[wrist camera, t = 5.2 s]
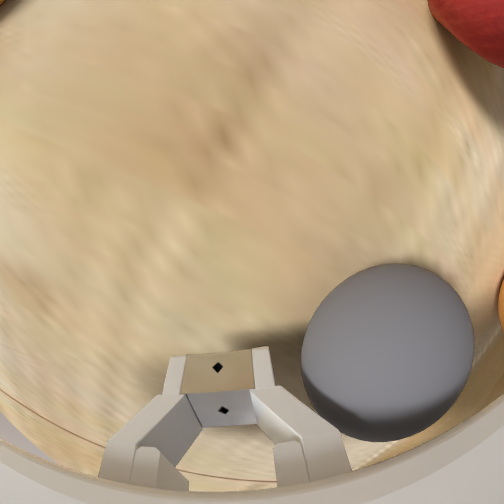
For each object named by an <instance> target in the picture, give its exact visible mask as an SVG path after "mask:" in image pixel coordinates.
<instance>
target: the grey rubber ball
mask: <svg viewBox="0 0 504 504" xmlns="http://www.w3.org/2000/svg"><path fill="white" fill-rule="evenodd" d="M473 356H474V333H473V327H472V323H471V319H470V316H469V313H468V311H467V308H466V306H465V305H464V303H463V301H462V299H461V298H460V296H459V295H458V294H457V292H456V291H455V290H454V289H453V288H452V287H451V286H450V285H449V284H448V283H447V282H446V281H444V280H443V279H442V278H441V277H439V276H438V275H436V274H434V273H432V272H430V271H428V270H426V269H423V268H420V267H417V266H413V265H407V264H385V265H379V266H375V267H371V268H368V269H366V270H363V271H361V272H358V273H356V274H355V275H353V276H351V277H349V278H347V279H346V280H345V281H343V282H342V283H340V284H339V285H338V286H337V287H336V288H335V289H333V290H332V291H331V292H330V293H329V294H328V295H327V297H326V298H325V299H324V300H323V301H322V302H321V304H320V305H319V307H318V308H317V310H316V311H315V313H314V315H313V317H312V319H311V321H310V322H309V325H308V328H307V330H306V333H305V336H304V341H303V345H302V351H301V372H302V378H303V383H304V387H305V389H306V392H307V395H308V397H309V399H310V401H311V403H312V405H313V406H314V408H315V409H316V411H317V412H318V413H319V415H320V416H321V417H322V418H323V419H325V420H326V421H327V422H329V423H330V424H331V425H333V426H334V427H335V428H337V429H338V430H339V432H341V433H343V434H345V435H347V436H350V437H353V438H356V439H359V440H363V441H370V442H389V441H395V440H400V439H403V438H406V437H410V436H412V435H415V434H417V433H419V432H421V431H423V430H425V429H426V428H428V427H429V426H431V425H432V424H434V423H435V422H436V421H437V420H439V419H440V418H441V417H442V416H443V415H444V414H445V413H446V412H447V411H448V410H449V409H450V408H451V406H452V405H453V404H454V403H455V401H456V400H457V398H458V397H459V395H460V393H461V392H462V390H463V388H464V386H465V384H466V382H467V379H468V376H469V373H470V370H471V367H472V362H473Z"/></svg>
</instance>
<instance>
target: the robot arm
mask: <svg viewBox="0 0 504 504" xmlns="http://www.w3.org/2000/svg"><path fill="white" fill-rule="evenodd" d="M248 424H257V425H258V426H259V427H260V428H261V430H262V431H263V432H264V433H265V434H266V435H267V436H268V437H269V438H270V440H271V441H272V442H273V443H274V444H275V446H274V448H273V454H274V462H275V470H276V479H277V488H269V489H260V490H248V491H228V492H199V491H189V481H188V480H187V479H186V478H185V477H184V476H183V475H182V474H181V473H180V472H179V471H178V470H177V469H176V468H175V467H176V465H177V464H178V463H179V461H180V460H181V459H182V457H183V456H184V455H185V453H186V452H187V450H188V449H189V448H190V446H191V445H192V443H193V442H194V441H195V439H196V438H197V436H198V435H199V434H200V432H201V431H202V428H205V427H220V426H233V425H248ZM0 504H504V393H503V394H502V395H501V396H499V397H498V398H497V399H496V400H494V401H493V402H492V403H490V404H489V405H487V406H486V407H485V408H483V409H482V410H480V411H479V412H477V413H476V414H474V415H473V416H471V417H470V418H468V419H467V420H465V421H463V422H462V423H460V424H459V425H457V426H455V427H453V428H452V429H450V430H448V431H447V432H445V433H443V434H441V435H439V436H437V437H435V438H434V439H432V440H430V441H428V442H426V443H424V444H422V445H419V446H417V447H415V448H413V449H411V450H409V451H406V452H404V453H402V454H399V455H397V456H395V457H392V458H390V459H387V460H384V461H382V462H379V463H376V464H373V465H371V466H368V467H365V468H362V469H358V470H355V471H352V469H351V466H350V463H349V460H348V457H347V454H346V450H345V447H344V444H343V441H342V438H341V435H340V432H339V430H338V429H337V428H335V427H334V426H333V425H331V424H330V423H329V422H327V421H326V420H325V419H323V418H322V417H321V416H319V415H318V414H317V413H315V412H314V411H313V410H311V409H310V408H309V407H307V406H306V405H305V404H304V403H302V402H301V401H300V400H298V399H297V398H296V397H295V396H293V395H292V394H291V393H290V392H289V391H287V390H286V389H285V388H284V387H282V386H281V385H280V386H276V384H275V378H274V373H273V367H272V362H271V356H270V351H269V347H268V346H265V347H258V348H252V350H251V349H245V350H237V351H229V352H220V353H207V354H188V355H173V356H172V357H171V358H170V361H169V366H168V370H167V374H166V379H165V383H164V388H163V393H162V395H157V396H156V397H155V398H153V399H152V400H151V401H150V402H149V403H148V404H147V405H146V406H145V407H144V408H143V409H142V410H141V411H140V412H138V413H137V414H136V415H135V416H134V417H133V418H132V419H131V420H130V421H129V422H128V423H126V424H125V425H124V426H123V427H122V428H121V429H120V430H119V431H118V432H116V433H115V434H114V435H113V436H112V437H111V438H110V439H109V440H108V441H107V445H106V448H105V452H104V455H103V459H102V463H101V467H100V471H99V475H98V477H96V476H92V475H88V474H85V473H81V472H78V471H75V470H72V469H69V468H66V467H63V466H60V465H58V464H55V463H52V462H50V461H47V460H45V459H42V458H40V457H37V456H35V455H33V454H31V453H28V452H26V451H24V450H22V449H20V448H18V447H16V446H14V445H12V444H10V443H8V442H6V441H4V440H3V439H1V438H0Z"/></svg>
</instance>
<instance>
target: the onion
mask: <svg viewBox="0 0 504 504" xmlns="http://www.w3.org/2000/svg"><path fill="white" fill-rule="evenodd" d="M427 1H428V5H429V9H430V11H431V14H432V15H433V17H434V18H435V19H436V20H437V21H438V22H439V23H441V24H442V25H443V26H444V27H445V28H446V29H447V30H448V31H449V32H450V33H451V34H453V35H454V36H455V37H456V38H457V39H458V40H459V41H460V42H462V43H463V44H464V45H466V46H467V47H468V48H470V49H471V50H472V51H474V52H475V53H477V54H478V55H480V56H481V57H483V58H484V59H485V60H487V61H489V62H491V63H493V64H495V65H498V66H500V67H502V68H504V0H427Z"/></svg>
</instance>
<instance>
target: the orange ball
mask: <svg viewBox="0 0 504 504" xmlns="http://www.w3.org/2000/svg"><path fill="white" fill-rule="evenodd" d="M498 311H499V319H500V323H501V327H502V329H503V332H504V280H503V282H502V285H501V289H500V294H499V301H498Z"/></svg>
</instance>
